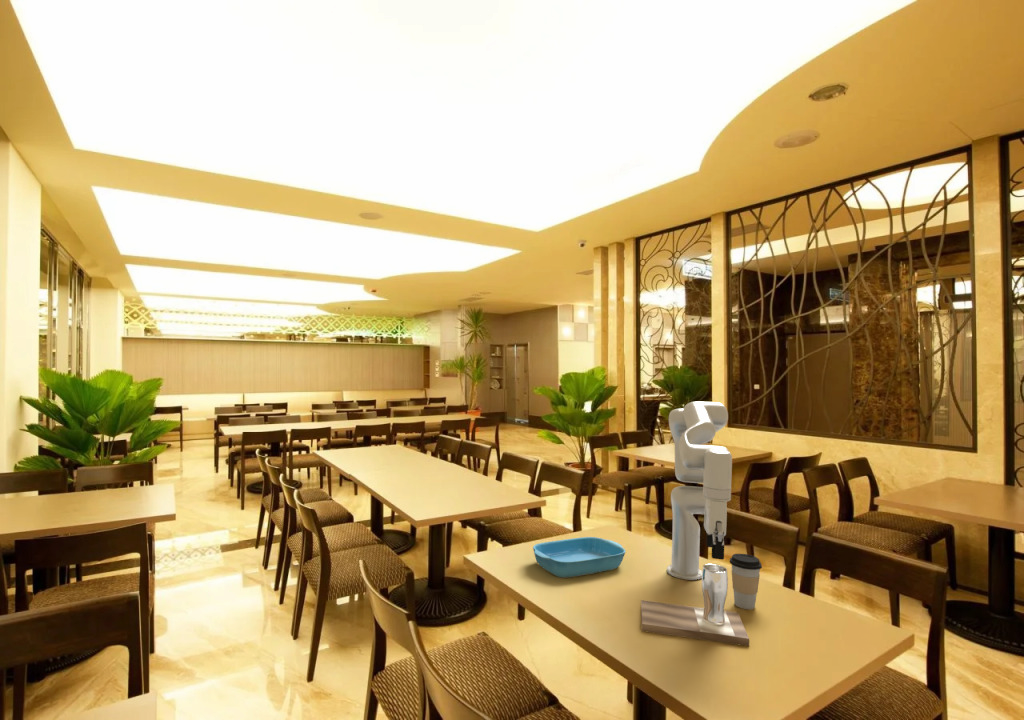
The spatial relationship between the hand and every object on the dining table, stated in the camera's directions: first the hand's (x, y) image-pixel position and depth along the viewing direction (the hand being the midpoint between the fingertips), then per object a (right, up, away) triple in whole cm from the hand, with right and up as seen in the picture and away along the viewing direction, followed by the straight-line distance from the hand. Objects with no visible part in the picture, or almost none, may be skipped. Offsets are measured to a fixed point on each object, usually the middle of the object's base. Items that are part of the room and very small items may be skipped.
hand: (715, 552), depth 152 cm
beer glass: (-1, -20, 0) cm, 20 cm away
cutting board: (-7, -21, +1) cm, 22 cm away
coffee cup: (+15, -22, +15) cm, 31 cm away
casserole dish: (-34, -22, +44) cm, 60 cm away
